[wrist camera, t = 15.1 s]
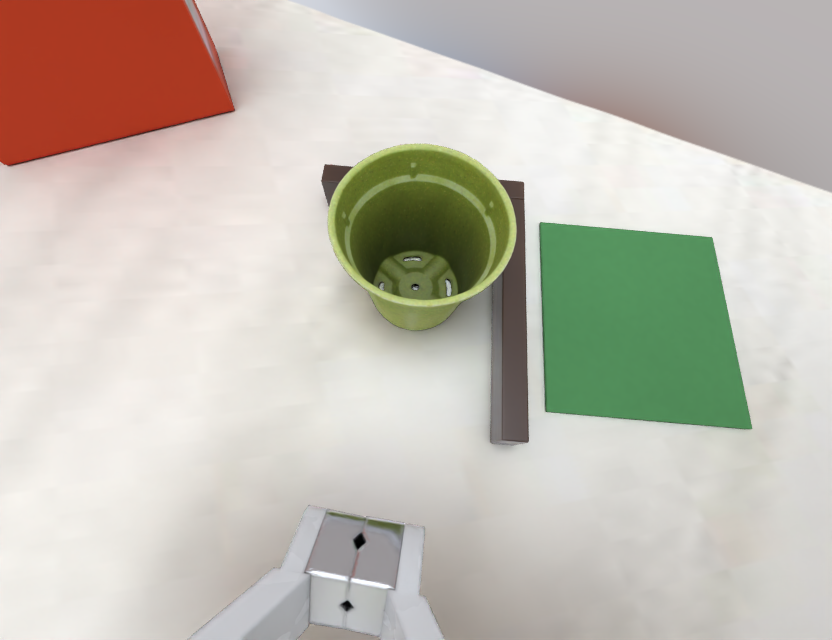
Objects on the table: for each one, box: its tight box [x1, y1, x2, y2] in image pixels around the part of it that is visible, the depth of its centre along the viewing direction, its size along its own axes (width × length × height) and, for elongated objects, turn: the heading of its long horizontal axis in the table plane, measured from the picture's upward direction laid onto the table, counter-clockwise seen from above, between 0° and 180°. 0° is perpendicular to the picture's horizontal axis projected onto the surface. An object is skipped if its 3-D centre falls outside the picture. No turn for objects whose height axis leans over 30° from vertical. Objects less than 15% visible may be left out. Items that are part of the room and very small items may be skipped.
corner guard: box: [321, 164, 529, 445], centre depth 26 cm, size 14×18×3 cm
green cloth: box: [540, 222, 752, 429], centre depth 27 cm, size 13×14×1 cm
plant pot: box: [328, 144, 517, 330], centre depth 24 cm, size 9×9×9 cm
